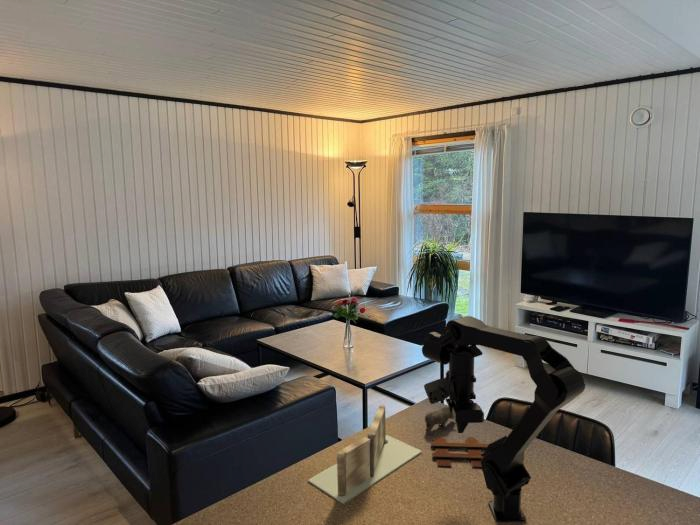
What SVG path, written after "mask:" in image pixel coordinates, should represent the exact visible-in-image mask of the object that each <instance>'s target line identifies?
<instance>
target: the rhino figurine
mask: <svg viewBox="0 0 700 525" xmlns="http://www.w3.org/2000/svg"><path fill="white" fill-rule="evenodd" d="M449 407H450V406H449V405H448V404H447V406H443V407H441V408H439V409H437V410H433V411H429V412H427V413H426V414H425V416H424V422H425V430H426V431H427V430H428V431H427V434H426V435H428V434H429V436H432V435H433V432H432V429H433V428H434V427H435V426H436V425H438V424H441V425H440V426H441V428H442V429H444V428H446V427H447V426H446V424H447V423H448V421H449V420H450V419H451V420H455V419H454V417H453V414H452V413H451V411H450V409H449ZM446 429H447V428H446Z"/></svg>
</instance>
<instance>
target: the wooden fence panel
mask: <svg viewBox="0 0 700 525" xmlns="http://www.w3.org/2000/svg"><path fill="white" fill-rule="evenodd" d="M336 464H337V477H338V495H339V496H341V497H342V496H345V495H346V493H348V492H349V491H351V490H352V489H354V488H356V487H357V486H359V485H360V484H362V483H363V482H365V481H366V480H368V479H369V478H370V477H373V476H374V448H373V434H368V433H367V437H366V436H364V437H362V438H360V439H358V440H357V441H355V442H353V443H351V444H350V445H349V444H348V446H346V447H344V448H342V449H341V450H338V451H337V452H336Z"/></svg>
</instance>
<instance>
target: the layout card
mask: <svg viewBox="0 0 700 525" xmlns="http://www.w3.org/2000/svg"><path fill="white" fill-rule="evenodd" d="M422 453H423V451H422V450H420V449H418V448H416V447H414V446H413V445H409V444H408V443H405V442H403V441H401V440H399V439H397V438H395V437H393V436H390V435H388V434H386V441H385V442H384V444H383V447H382V450H381V453H380V456H379V459H378V462H377V465H376V468H375V471H374V476H373V477H370V478H369V479H368V480H366V481H365V482H363V483H362V484H360V485H359V486H357V487H356V488H354V489H352V490H351V491H349V492H348V493H346V495H345V496H342V497H341V496H339V495H338V477H337V463H335V464H333V465H332V466H330V467H328V468H326V469H325V470H323V471H321V472H319V473H318V474H315V475H313V477H310V478H309V479H308V480H307V482H308V483H310V484H311V485H313V486H315V487H316V488H318V489H319V490H320V491H322V492H324V493H325V494H327V495H329V496H330V497H332V498H333V499H334V500H336V501H338V502H339V503H341V504H342V505H344V504H346V503H347V502H349V501H350V500H352V499H354V498H355V497H357V496H358V495H360V494H361V493H363V492H364V491H366V490H367V489H369V488H370V487H372V486H373V485H374V484H376V483H378V482H379V481H381V480H382V479H384V478H386V477H387V476H388V475H390V474H391V473H393V472H395V470H398V469H399V468H400V467H402V466H403V465H405V464H406V463H409V462H410V461H411V460H413V459H414V458H415V457H417V456H419V455H420V454H422Z"/></svg>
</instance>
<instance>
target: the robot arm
mask: <svg viewBox="0 0 700 525" xmlns="http://www.w3.org/2000/svg"><path fill="white" fill-rule="evenodd" d="M478 346H480V347H485V348H489V349H493V350H496V351H500V352H502V353H503V352H504V353H507V354H511V355H516V356H519V357H522V358H523V360H524V361H525V362H526V366H527V369H528V372H529V377H530V379H531V380H532V382H533V383H534V384H535V389H534V393H533V394H534V400H533V402H532V403H531V405H530V406H529V407H528V408H527V410H526V412H525V413H524V414H523V415H522V416H521V418H520V420H518V421H517V423H516V424H515V426H514V427H513V428H512V430H511V431H510V433H509V434H508V435H504V436H502V437H499V438H500V439H499V438H498V439H496V440H495V441H492V442H490V443H488V444H489V445H488V447H487V449H486V450H484V452H482V454H481V456H483V458H482V459H481V465H482V473H483V477H484V481H485V485H486V489H487V490H489V491H491V494H492V495H493V499H489V500H488V505H489V508H490V510H491V512H492V514H493V516H494V520H495V521H496V522H526V521H527V517H526V515H525V513H524V511H523V509H522V488H523V487H524V486H526V485H529V483H530V481H531V479H532V477H531V475H530V473H529V472H528V470H527V468H526V467H525V465H524V460H525V451H526V450H527V449H528V448H529V446H530V445H531V444H532V442H533V441H534V440H535V439H536V438H537V437H538V435H539V434H540V433H541V432H542V430H543V429H544V428H545V427H546V425H547V424H548V423H549V422H550V421H551V419H552V418H553V416H555V414H556V412H557V411H559V410H560V409H562V408H563V407H565V406H566V405H567V404H569V403H570V402H572V401H573V400H575V399H576V398H577V397H579V396H580V395H581V394H582V393H583V392H584V391H585V389H586V383H585V379H584V377H583V376H582V374H581V373H580V371H579V370H578V369H575V367H574V366H573V364H572V363H571V362H570V361H569V359H568V358H567V357H566V356H564V355H563V354H562V353H560V352H559V351H557V350H556V349H555V348H554V347H553V346H551V344H550V343H549V341H548V340H547V339H546V338H545V337H543V336H539V335H529V334H525V333H520V332H516V331H511V330H508V329H507V330H506V329H503V328H500V327H499V328H498V327H493V326H489V325H487V324H485V323H484V321H482V320H481V319H478V318H476V317H474V316H472V315H466V316H463V317H457V318H455V319H451V320H448V322H447V323H446V324H445V329H444V330H443V332H442V333H441V334H440V333H438V332H436V331H431V332H429V333H428V334H427V338H426V339H425V340H424V342H423V344H422V346H421V353H422V355H423V357H424V358H426V359H429V360H431V361H433V362H436V363H438V364H441V365H444V366H445V365H448V370H447V371H446V372H445V377H443V378H438V379H435V380H432V381H430V382H427V383H425V384H424V385H423V388H424V391H425V393H426V396H427V398H428V402H429V404H431V405H434V404H438V403H440V402H443V401H446V404H447V406H448V405H449V406H450V407H449V409H450V411H451V413H452V414H453V417H454V419H453V420H454V421H455V426H456V430H457V433H458V434H463V433H464V432H465V430H466V428H467V426H468V425H469V424H476V423H477V424H481V423H484V421H485V413H484V411H483V409H482V408H481V406H480V405H479V404H478V403H477V402H474V400H476V398H477V396H476V393H475V391H474V386H475V385H474V384H475V383H476V382H477V378H476V375H475V358H477V357H480V356H482V355H483V354H484V353H483V352H482V350H481V349H480V348H478ZM544 362H545V363H546V364H547V365H548V366H550V367H551V368H553V369H554V371H551V372H549V373H548V371H547V370H546V368H545V365H544Z"/></svg>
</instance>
